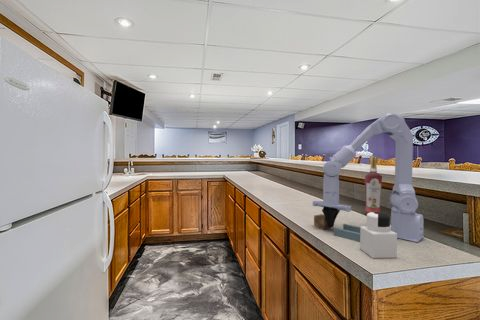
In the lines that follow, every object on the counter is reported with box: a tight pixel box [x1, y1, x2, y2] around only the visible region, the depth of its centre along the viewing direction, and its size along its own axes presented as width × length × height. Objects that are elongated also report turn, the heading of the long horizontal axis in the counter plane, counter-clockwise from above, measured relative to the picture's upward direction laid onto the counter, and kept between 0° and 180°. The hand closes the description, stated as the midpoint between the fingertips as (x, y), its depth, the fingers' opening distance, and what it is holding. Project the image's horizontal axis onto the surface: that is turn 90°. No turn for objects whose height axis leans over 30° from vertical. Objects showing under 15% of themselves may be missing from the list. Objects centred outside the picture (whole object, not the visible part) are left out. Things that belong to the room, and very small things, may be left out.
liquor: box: [364, 156, 383, 215], centre depth 119 cm, size 7×7×28 cm
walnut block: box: [313, 213, 330, 231], centre depth 100 cm, size 5×4×4 cm
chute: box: [333, 223, 361, 243], centre depth 90 cm, size 10×8×2 cm
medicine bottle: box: [359, 211, 398, 259], centre depth 74 cm, size 7×7×12 cm
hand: (330, 227), depth 96 cm, fingers closed
